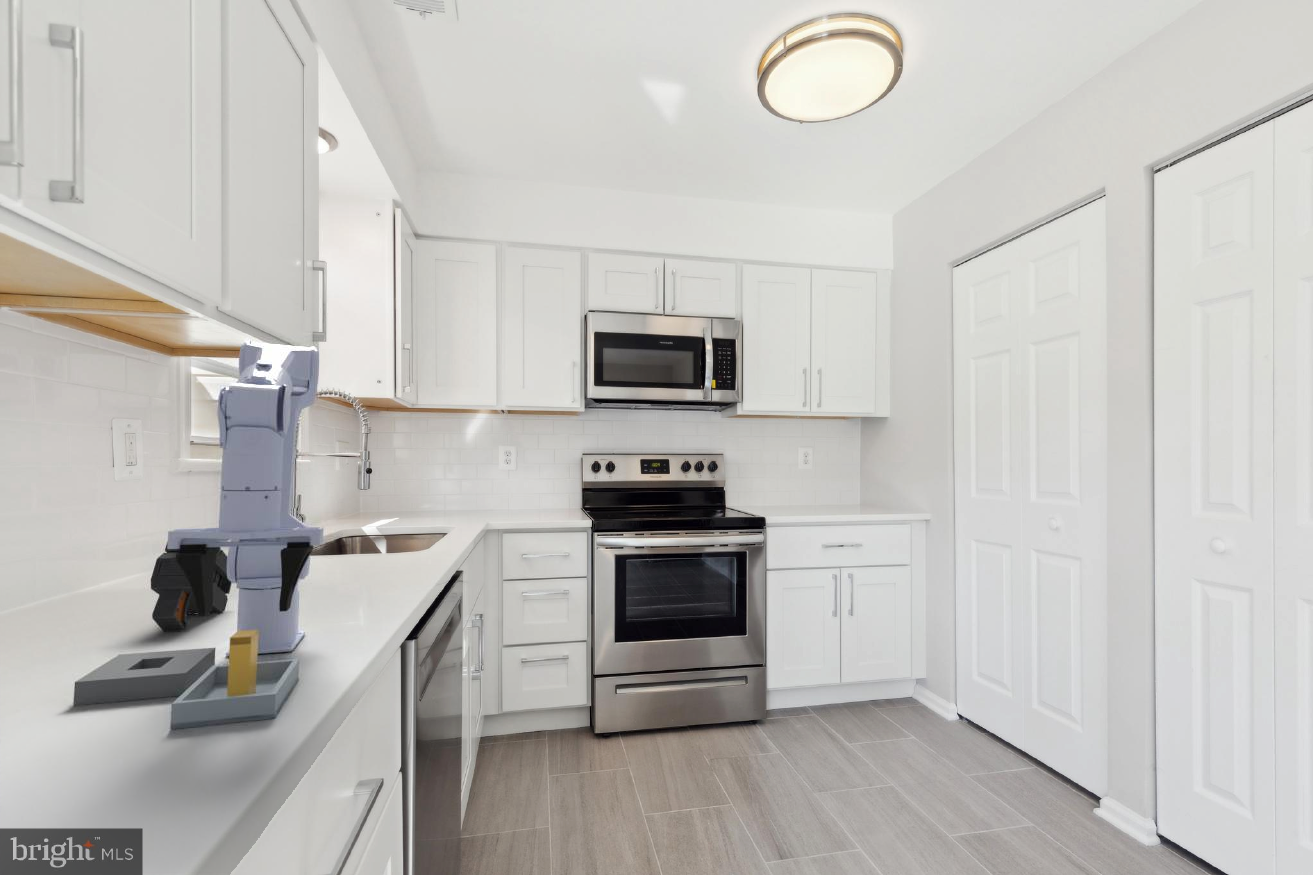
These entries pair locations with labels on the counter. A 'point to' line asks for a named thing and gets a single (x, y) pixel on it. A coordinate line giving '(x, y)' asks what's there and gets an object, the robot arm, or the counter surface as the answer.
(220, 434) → the robot arm
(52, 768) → the counter surface
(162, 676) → the socket block
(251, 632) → the block
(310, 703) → the counter surface
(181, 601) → the tool
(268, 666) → the parts tray
